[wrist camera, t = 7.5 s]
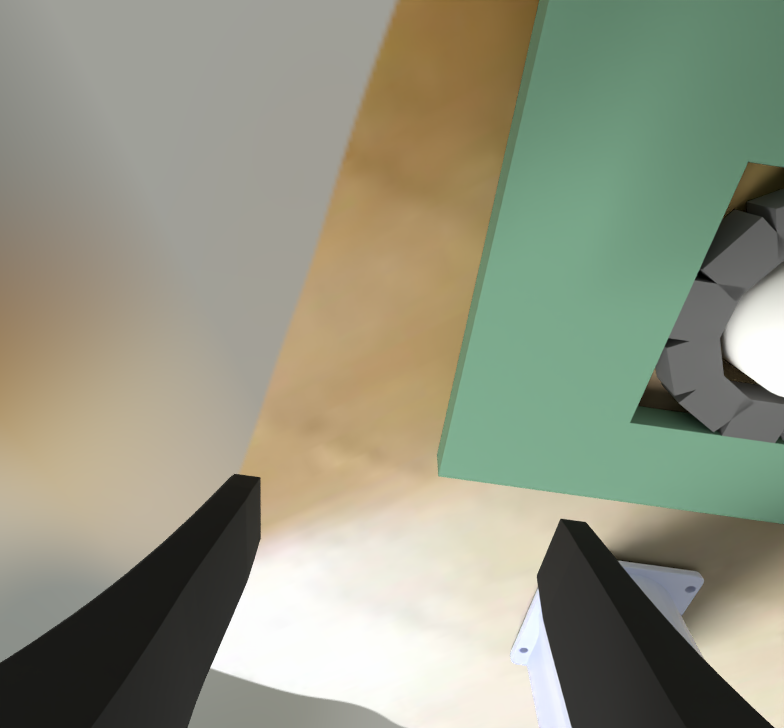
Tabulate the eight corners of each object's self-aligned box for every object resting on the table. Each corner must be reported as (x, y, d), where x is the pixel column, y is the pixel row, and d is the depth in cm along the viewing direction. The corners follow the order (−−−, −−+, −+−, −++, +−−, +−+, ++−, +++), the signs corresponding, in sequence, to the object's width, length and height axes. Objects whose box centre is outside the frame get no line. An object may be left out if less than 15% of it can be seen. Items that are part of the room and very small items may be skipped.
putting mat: (809, 506, 22) (834, 531, 21) (437, 454, 22) (438, 476, 20) (1143, 62, 14) (1220, 55, 12) (546, -31, 13) (560, -48, 12)
